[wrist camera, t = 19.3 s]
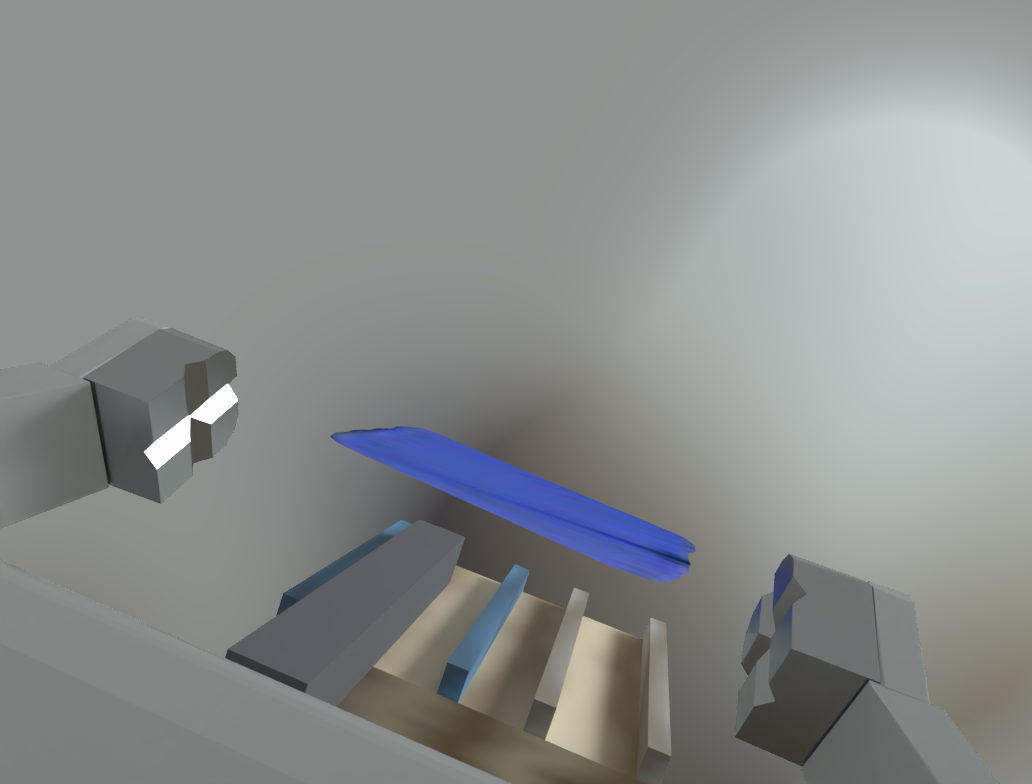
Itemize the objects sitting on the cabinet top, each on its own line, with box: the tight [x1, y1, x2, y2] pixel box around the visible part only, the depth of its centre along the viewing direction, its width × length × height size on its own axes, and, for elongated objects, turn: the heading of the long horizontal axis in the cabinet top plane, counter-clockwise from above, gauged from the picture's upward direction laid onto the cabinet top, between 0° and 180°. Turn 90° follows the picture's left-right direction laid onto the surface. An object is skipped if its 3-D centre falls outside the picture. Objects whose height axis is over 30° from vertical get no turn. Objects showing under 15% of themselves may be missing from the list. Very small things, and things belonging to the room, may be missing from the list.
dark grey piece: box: [225, 520, 465, 707], centre depth 35 cm, size 3×21×3 cm, turn 169°
